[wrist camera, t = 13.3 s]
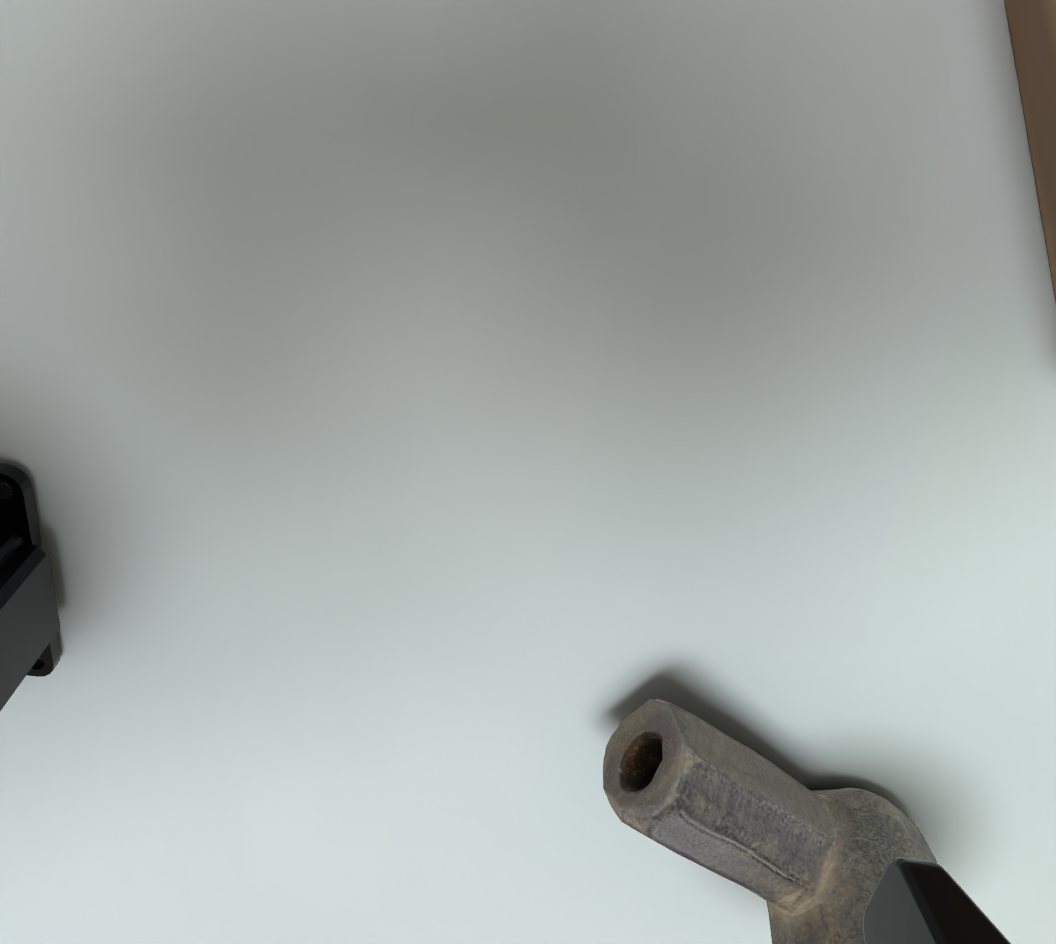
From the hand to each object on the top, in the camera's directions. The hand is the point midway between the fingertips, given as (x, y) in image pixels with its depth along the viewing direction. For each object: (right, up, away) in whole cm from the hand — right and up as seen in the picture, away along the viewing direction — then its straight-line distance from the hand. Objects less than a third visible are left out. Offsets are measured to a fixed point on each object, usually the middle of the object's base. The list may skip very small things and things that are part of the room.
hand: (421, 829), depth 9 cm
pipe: (+9, -6, +19) cm, 22 cm away
